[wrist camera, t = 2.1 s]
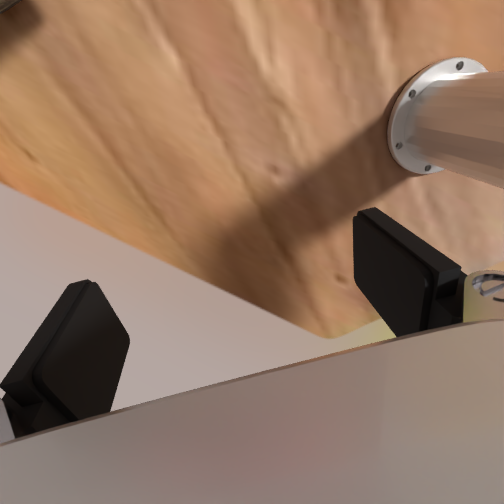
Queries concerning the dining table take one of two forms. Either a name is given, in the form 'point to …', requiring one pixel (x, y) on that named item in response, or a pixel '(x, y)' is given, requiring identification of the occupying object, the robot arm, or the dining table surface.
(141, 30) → the dining table surface
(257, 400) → the robot arm
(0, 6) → the tabletop clock
